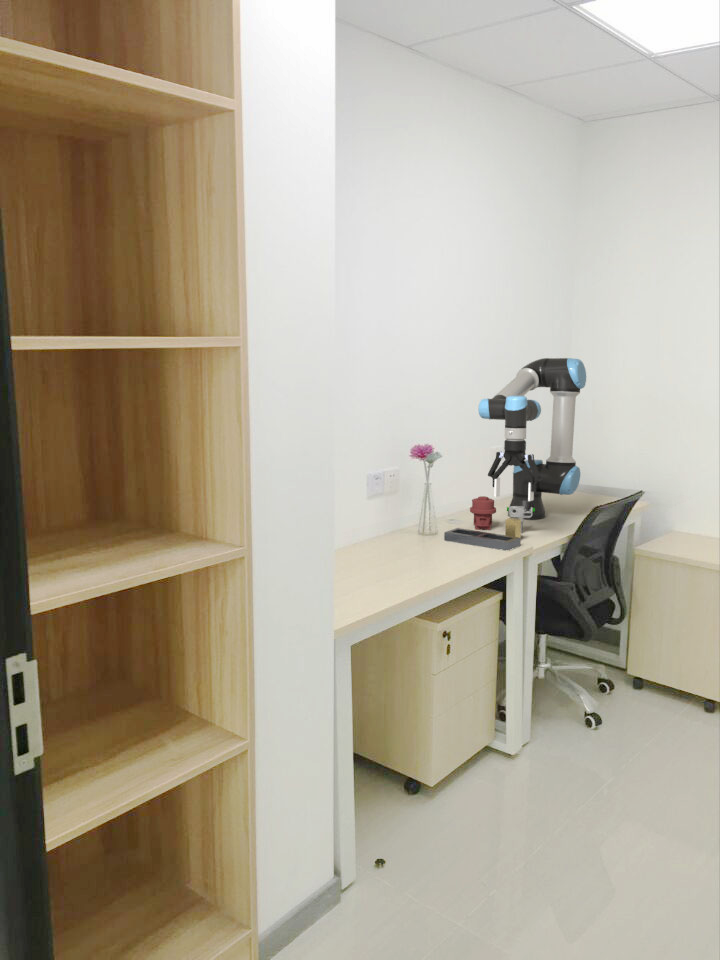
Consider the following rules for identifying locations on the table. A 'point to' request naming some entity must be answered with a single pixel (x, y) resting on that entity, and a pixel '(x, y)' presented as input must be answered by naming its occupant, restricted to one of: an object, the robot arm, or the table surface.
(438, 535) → the table surface
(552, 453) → the robot arm
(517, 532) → the brushed brass bar
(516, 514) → the mechanical component
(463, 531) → the rack frame
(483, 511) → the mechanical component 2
